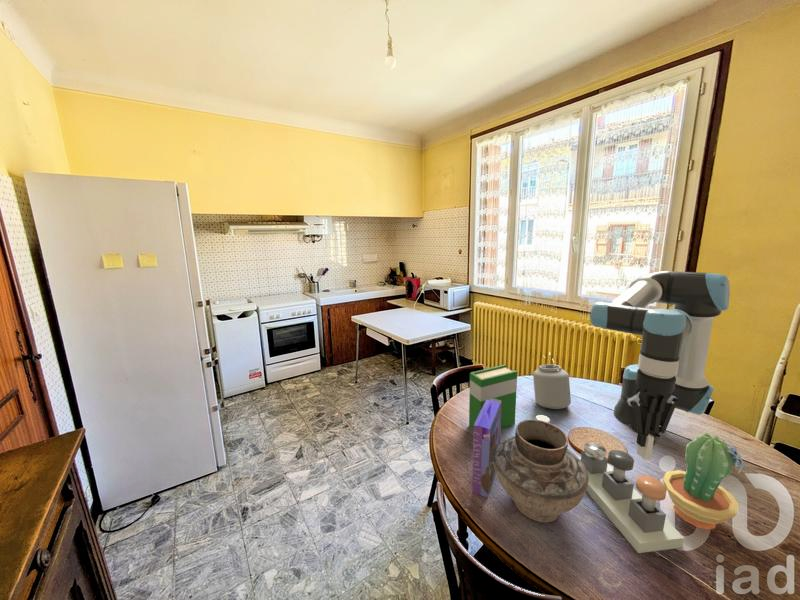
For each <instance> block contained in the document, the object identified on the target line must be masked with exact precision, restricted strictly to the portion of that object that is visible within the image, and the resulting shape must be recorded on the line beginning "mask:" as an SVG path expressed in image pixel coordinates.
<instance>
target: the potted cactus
mask: <svg viewBox="0 0 800 600" xmlns="http://www.w3.org/2000/svg"><path fill="white" fill-rule="evenodd" d="M684 458H685V462H686V471H685V470H680V469H679V470H678V469H676V470H670V471H666V472H665V474H664V475H663V478H662V483H663V484H664V485H665V487H666V489H667V491H666V492H667V493H668V495H669V498H670V499H671V503H672V504H673V506H672V508H673V510H674V512H675V513H676V514H677V516H679V517H680V518H681V519H682V520H683V521H685V522H686V523H689V524H691V525H692V526H694V527H696V528H700V529H705V530H707V531H708V530H713V529H716V526H717V524H721V523H724V522H725V521H727V520H728V519H729V518H735V516H737V514H738V512H739V507H740V503H739V502H738V501H737V500H736V498H735V497H734V496H733V494H732V493H731V492H730V491H729V490H727V489H725V488H724V487H723V486H721V483H722V482H723V480H724V479H725V478H726V477H728V476H729V475H730V474H731V473H732V472H733V469H734V467H735V468H738V467H739V469H738V473H739V474H740V473H741V472H742V470H743V467H744V466H745V462H744V461H743V458H742V456H741V455H740V453H739V451H738V449H737V448H736V447H735V446H733V445H731V444H729V443H726V442H725V441H724V440H722V439H720V437H719V436H717V435H712V436H711V435H710V434H709V433H707V432H705V433H703V434H700V435H699V436H696V438H695V439H692V440H690V441H689V442H688V443H687V444H686V448H685V456H684Z"/></svg>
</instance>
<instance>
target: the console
mask: <svg viewBox="0 0 800 600" xmlns="http://www.w3.org/2000/svg"><path fill="white" fill-rule="evenodd" d="M577 457H578V456H577ZM578 458H579V459H580V460H581V461H582V462H583V464H584V465H585V467H586V470H587V472H588V477H589V481H588V486H587V490H586V492H587V493H588V495H589V496H590V497H591V498H592V499H593V501H594V503H596V505H597V506H598V507H599V508H600V509H601V510H602V512H603V513H604V514H605V515H606V516H607V517H608V519H609V520H610V521H611V522H612V524H614V526H615V528H617V529H618V530H619V532H620V533H621V534H622V535H623V536H624V538H625V539H626V540H627V541H628V543H629V544H630V545H631V546H632V548H633V549H634V550H635V551H636V552H637V553H638V554H642V553H650V552H657V551H658V552H659V551H666V550H673V549H682V548H683V546H684V542H685V537H684V536H683V535H682V534H681V533H680V532H679V531H678V530H677V529H676V528H675V527H674V526H673V525H672V524H671V523H670V522H669V521H668V520H667V519H666V517H667V514H666V513H665V512H664V511H663V510H662V509H661V508H660V507H659V506H658V505H657V503H656V504H655V510H654V511H652V512H651V511H647V510H645V509H644V508H643V507H642V506H641V501H642V494H641V493H640V492H639V491H637V489H635V488H634V485H635V484H634V482H633V481H632V480H630V479H629V477H627V475H625V478H624V481H617V480H615V479H614V478H613V469H614V467H613V466H612V465H611V464H610V463H609V461H608V457H606V458H605V459H604V460H595V459H592V458H590V457H588V456H587V455H586V454H585V453H584V448H583V449H581V454H580V456H579V457H578Z"/></svg>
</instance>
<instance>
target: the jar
mask: <svg viewBox="0 0 800 600" xmlns="http://www.w3.org/2000/svg"><path fill="white" fill-rule="evenodd" d="M548 355H549V356H551V352H550V351H549V353H548ZM544 358H546V357H545V356H544ZM551 360H552V362H553V363H555V361H554V359H553V358H552V359H551ZM532 376H533V377H532V379H533V390H534V399H535V403H536V404H537V405H539V406H540V407H542V408H546V409H552V410H553V409H554V410H561V409H565V408H568V407H569V406H570V405H571V404H572V399H571V385H570V375H569V372H568V371H566V370H564V369H563V368H562V366H561V365H558V364H549V363H548V364H541V365H539V367H538V368H537V369H535V370H534V371H533V375H532Z"/></svg>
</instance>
